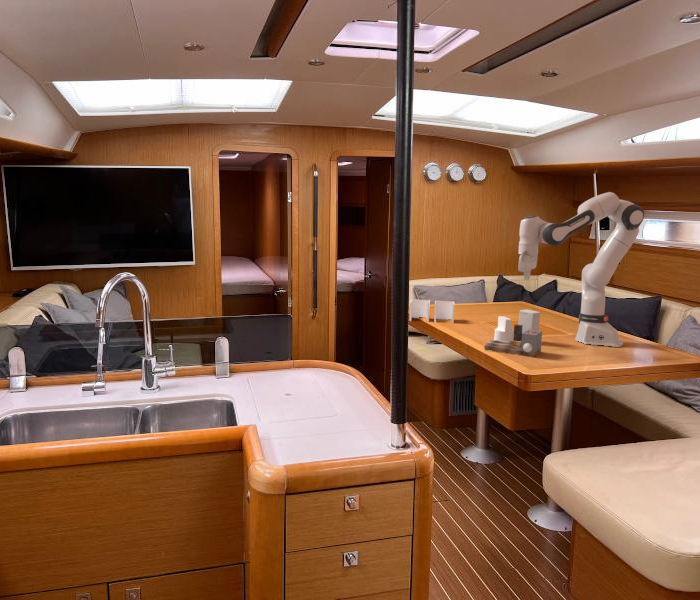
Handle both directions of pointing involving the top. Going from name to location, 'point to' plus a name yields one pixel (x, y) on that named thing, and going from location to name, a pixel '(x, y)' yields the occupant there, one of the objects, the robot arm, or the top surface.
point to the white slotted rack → (423, 308)
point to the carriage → (517, 336)
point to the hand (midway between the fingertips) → (526, 279)
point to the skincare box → (529, 320)
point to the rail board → (507, 348)
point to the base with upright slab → (503, 329)
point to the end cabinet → (531, 341)
